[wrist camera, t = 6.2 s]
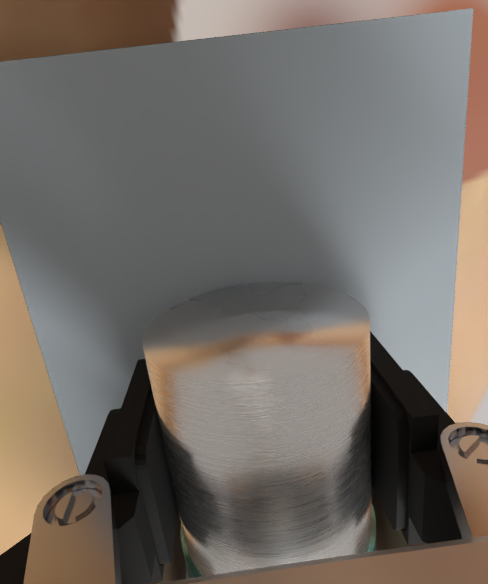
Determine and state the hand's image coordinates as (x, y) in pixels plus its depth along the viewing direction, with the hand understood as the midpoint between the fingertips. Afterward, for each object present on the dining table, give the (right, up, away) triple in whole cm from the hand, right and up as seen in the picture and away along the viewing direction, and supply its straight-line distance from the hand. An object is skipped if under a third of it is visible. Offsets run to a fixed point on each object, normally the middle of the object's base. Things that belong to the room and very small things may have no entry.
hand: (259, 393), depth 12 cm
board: (0, -1, +3) cm, 3 cm away
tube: (0, -3, +2) cm, 4 cm away
